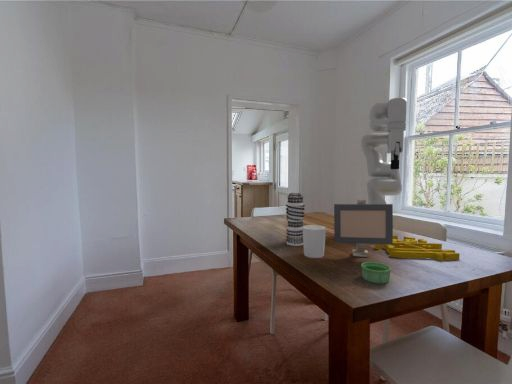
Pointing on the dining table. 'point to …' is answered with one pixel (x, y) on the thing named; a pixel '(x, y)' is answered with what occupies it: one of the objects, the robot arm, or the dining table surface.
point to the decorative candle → (295, 219)
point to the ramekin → (376, 272)
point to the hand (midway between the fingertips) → (394, 169)
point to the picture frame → (363, 223)
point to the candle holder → (314, 240)
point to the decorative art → (417, 249)
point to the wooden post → (360, 247)
